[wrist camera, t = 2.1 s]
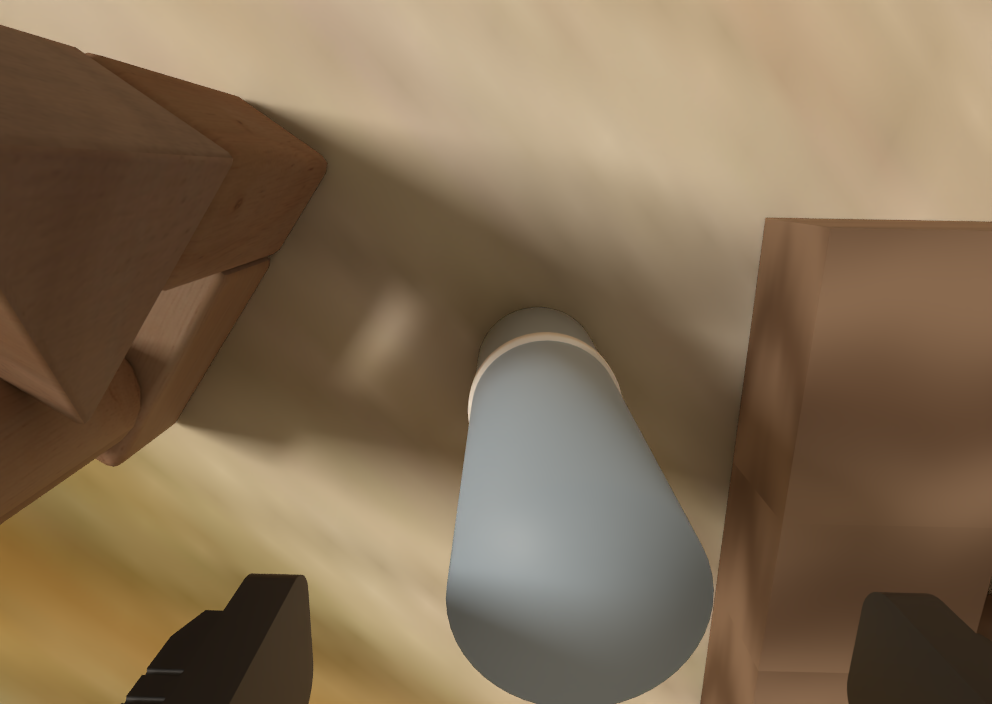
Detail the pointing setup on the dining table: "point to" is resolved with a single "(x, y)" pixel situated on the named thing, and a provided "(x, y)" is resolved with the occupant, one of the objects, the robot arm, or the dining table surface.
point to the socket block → (854, 449)
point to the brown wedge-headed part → (122, 249)
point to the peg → (567, 528)
